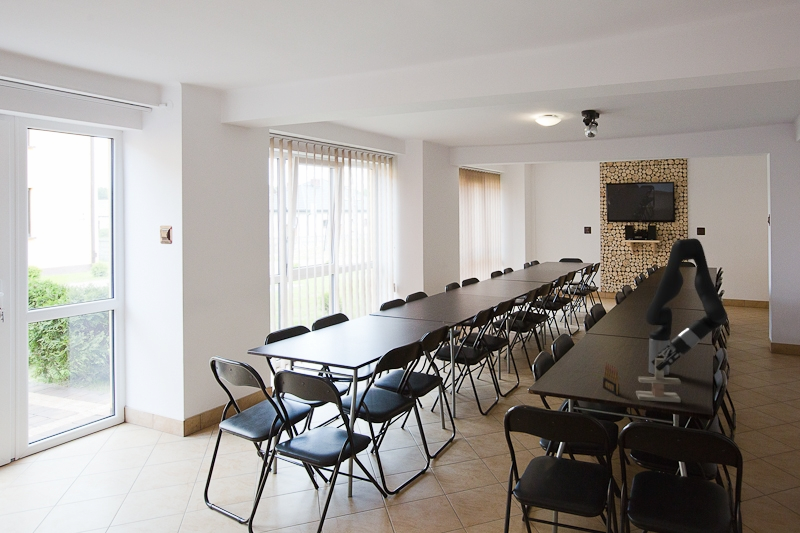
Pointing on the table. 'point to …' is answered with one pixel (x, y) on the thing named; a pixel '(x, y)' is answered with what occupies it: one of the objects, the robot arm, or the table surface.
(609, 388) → the ammunition clip
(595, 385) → the table surface
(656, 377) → the maple T-beam
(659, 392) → the stand
